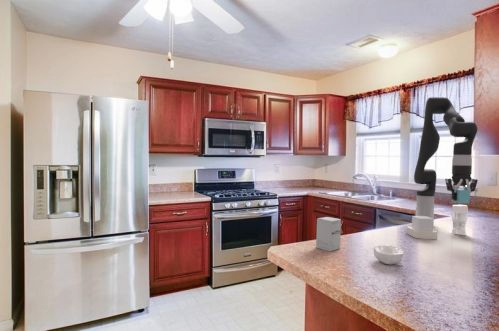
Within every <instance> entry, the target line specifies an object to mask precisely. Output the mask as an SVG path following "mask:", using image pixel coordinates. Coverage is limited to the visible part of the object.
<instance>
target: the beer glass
mask: <svg viewBox="0 0 499 331" xmlns="http://www.w3.org/2000/svg"><path fill="white" fill-rule="evenodd" d="M468 207H469V206H468V205H465V204H452V208H451V220H452V221H451V222H452V231H451V234H453V235H457V236H467V231H466V230H467V229H466V227H467V226H466V225H467V221H468V217H469V216H468V215H469V209H468Z"/></svg>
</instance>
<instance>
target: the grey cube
mask: <svg viewBox="0 0 499 331" xmlns="http://www.w3.org/2000/svg"><path fill="white" fill-rule="evenodd" d="M411 217H412V218H411V227H412V228H414V229H416V230H418V231H433V230H435V229H434V228H435V227H434V225H435V224H434V223H435V222H434V221H435V219H433V218H430V217H427V216H416V215H411Z"/></svg>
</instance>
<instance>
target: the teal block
mask: <svg viewBox="0 0 499 331" xmlns="http://www.w3.org/2000/svg"><path fill="white" fill-rule="evenodd" d="M456 193H457V200H456V201H455V200H452V199H451V202H452V203H457V204H470V202H471V200H470V199H471V193H470V190H464V188H462V189H461V188H458V190H457V192H456Z"/></svg>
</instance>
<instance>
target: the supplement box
mask: <svg viewBox="0 0 499 331" xmlns="http://www.w3.org/2000/svg"><path fill="white" fill-rule="evenodd" d="M341 228H342V219H341V218H336V217H335V218H334V217H330V216H324V217H318V218H317V219H316V237H315V238H316V241H315V242H316V243H315V244H316V245H315V247H316V248H317V249H319V250H322V251H326V252H333V251H336V250H340V249H341V235H342V233H341V231H342V229H341Z"/></svg>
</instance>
